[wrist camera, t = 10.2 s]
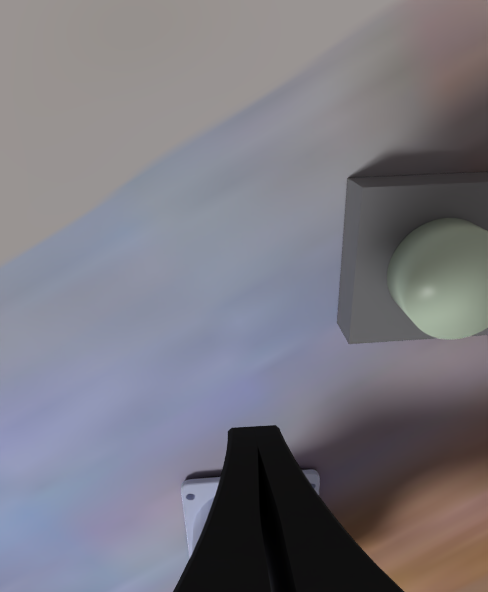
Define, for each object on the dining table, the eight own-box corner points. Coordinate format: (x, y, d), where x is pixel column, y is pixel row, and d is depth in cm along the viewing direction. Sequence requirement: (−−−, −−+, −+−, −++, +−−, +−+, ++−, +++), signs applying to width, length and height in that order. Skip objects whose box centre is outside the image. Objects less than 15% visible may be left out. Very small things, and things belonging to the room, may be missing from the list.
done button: (462, 298, 21) (506, 335, 18) (370, 304, 20) (399, 342, 17) (481, 206, 19) (534, 230, 16) (381, 211, 19) (415, 236, 15)
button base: (474, 314, 22) (498, 334, 20) (337, 322, 22) (348, 344, 20) (506, 170, 19) (537, 179, 17) (347, 177, 19) (362, 187, 17)
